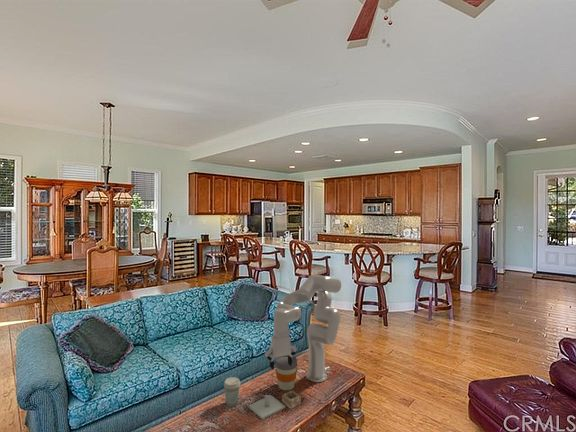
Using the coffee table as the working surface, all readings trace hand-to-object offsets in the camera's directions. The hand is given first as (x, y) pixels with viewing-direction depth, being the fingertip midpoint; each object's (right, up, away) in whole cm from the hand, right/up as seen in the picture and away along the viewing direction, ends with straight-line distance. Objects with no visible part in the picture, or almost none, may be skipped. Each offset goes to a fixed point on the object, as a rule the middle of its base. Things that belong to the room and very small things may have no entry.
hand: (281, 366), depth 165 cm
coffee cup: (-25, -20, +1) cm, 32 cm away
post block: (-7, -20, -2) cm, 21 cm away
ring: (+5, -20, +2) cm, 21 cm away
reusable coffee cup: (+3, -19, +18) cm, 26 cm away
